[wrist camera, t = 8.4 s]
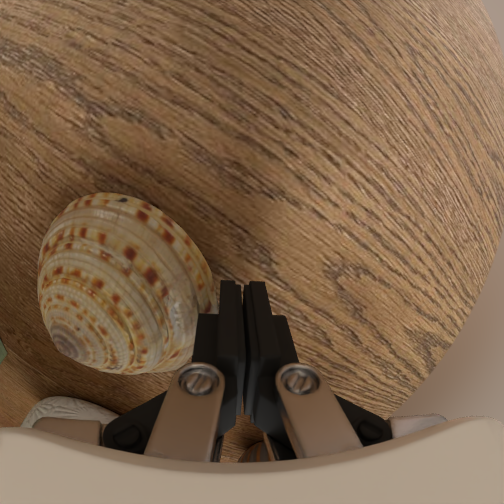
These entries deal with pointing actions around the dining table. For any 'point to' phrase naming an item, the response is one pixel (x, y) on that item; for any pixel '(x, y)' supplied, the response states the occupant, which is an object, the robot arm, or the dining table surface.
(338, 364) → the dining table surface
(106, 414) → the planter
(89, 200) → the seashell
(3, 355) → the tote
